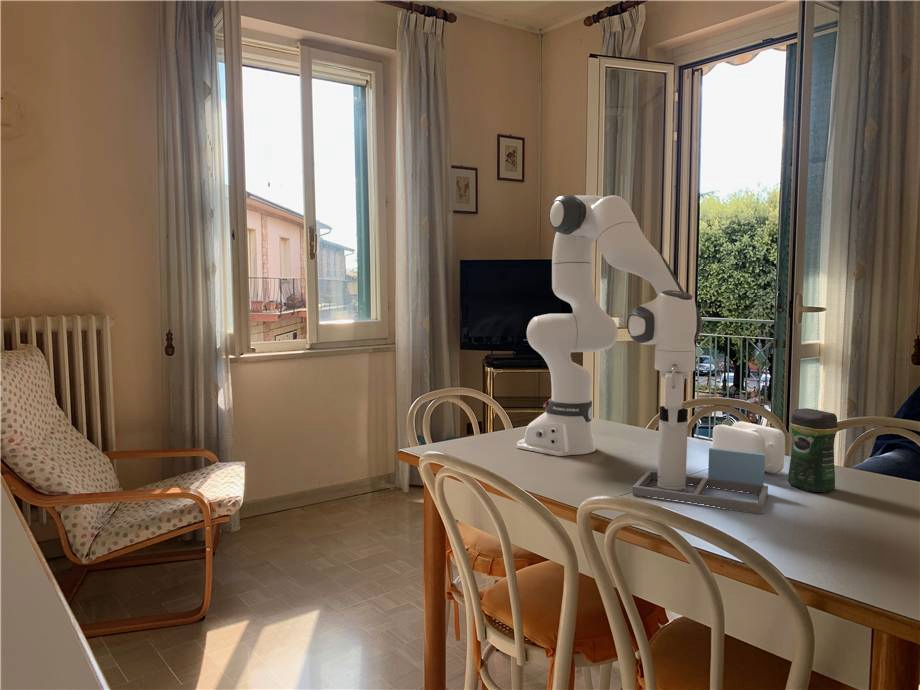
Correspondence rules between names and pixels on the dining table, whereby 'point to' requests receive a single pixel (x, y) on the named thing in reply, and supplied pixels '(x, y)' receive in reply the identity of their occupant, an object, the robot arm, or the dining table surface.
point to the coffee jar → (813, 450)
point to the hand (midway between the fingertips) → (672, 422)
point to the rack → (719, 481)
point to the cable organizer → (752, 442)
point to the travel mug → (672, 451)
